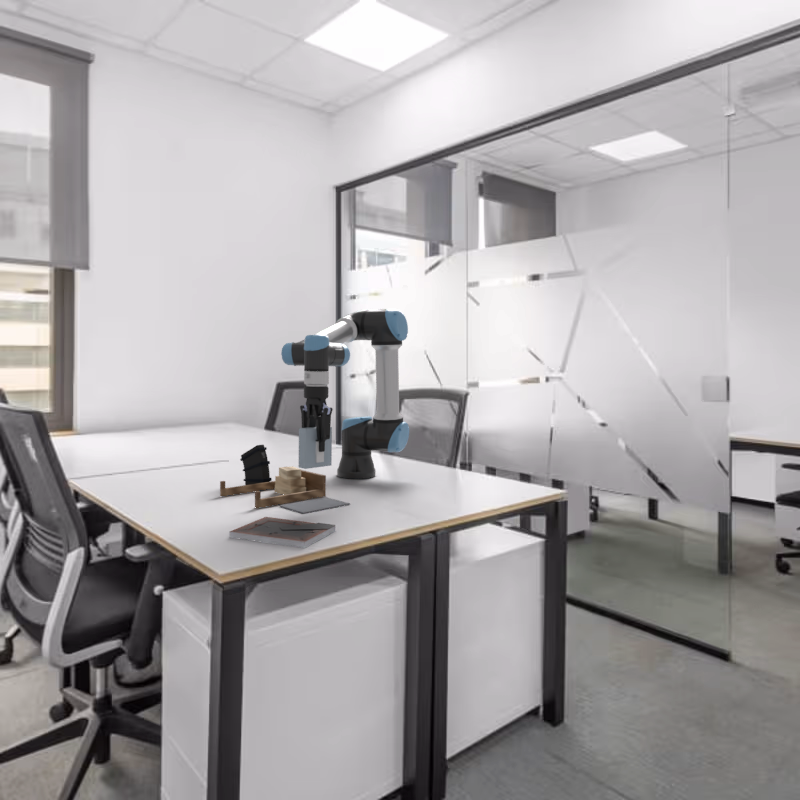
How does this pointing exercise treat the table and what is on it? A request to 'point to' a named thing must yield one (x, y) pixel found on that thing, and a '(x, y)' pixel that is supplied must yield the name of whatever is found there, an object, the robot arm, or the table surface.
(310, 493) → the rack
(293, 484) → the block
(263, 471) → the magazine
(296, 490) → the block
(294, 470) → the offcut top
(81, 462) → the table surface
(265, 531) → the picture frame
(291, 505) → the mat
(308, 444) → the pale blue chunky brick
